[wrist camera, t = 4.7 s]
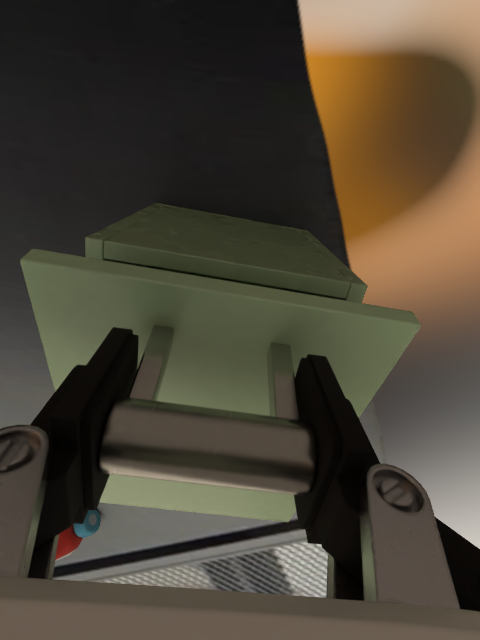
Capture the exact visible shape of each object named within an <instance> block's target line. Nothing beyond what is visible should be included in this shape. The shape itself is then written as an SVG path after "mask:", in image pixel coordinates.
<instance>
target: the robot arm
mask: <svg viewBox="0 0 480 640" xmlns="http://www.w3.org/2000/svg"><path fill="white" fill-rule="evenodd" d="M138 343H139V337H138V335H135V334H133V331H132V329H124V328H117V327H113V328H112V329H111V331H110V332H109V333H108V335H107V336H106V338H105V339H104V341H103V342H102V343H101V345H100V346H99V348H98V349H97V350H96V352H95V353H94V355H93V356H92V358H91V359H90V360H89V362H88V363H87V365H76V366H75V367H74V368H73V369H72V370H71V372H70V373H69V374H68V376H67V377H66V378H65V380H64V381H63V382H62V384H61V385H60V386H59V388H58V389H57V390H56V392H55V393H54V394H53V396H52V397H51V398H50V399H49V401H48V402H47V403H46V405H45V406H44V407H43V409H42V410H41V411H40V413H39V414H38V415H37V417H36V418H35V419H34V421H33V422H32V423H31V425H15V426H9V427H5V428H2V429H0V640H480V549H479V548H477V547H475V546H474V545H473V544H472V543H470V542H469V541H468V540H466V539H465V538H463V537H462V536H461V535H459V534H458V533H456V532H455V531H454V530H452V529H451V528H449V527H448V526H447V525H445V524H444V523H443V522H441V521H440V520H438V519H437V518H436V517H435V516H434V513H433V509H432V505H431V502H430V499H429V497H428V495H427V492H426V491H425V489H424V488H423V487H422V485H421V484H420V483H419V482H418V481H417V480H416V479H415V478H414V477H413V476H411V475H410V474H408V473H407V472H405V471H404V470H402V469H400V468H398V467H395V466H392V465H388V464H380V462H379V460H378V458H377V456H376V454H375V452H374V450H373V448H372V446H371V443H370V441H369V439H368V437H367V435H366V433H365V431H364V429H363V427H362V425H361V423H360V420H359V418H358V416H357V414H356V412H355V410H354V408H353V406H352V404H351V402H350V401H349V400H348V399H346V398H345V396H344V393H343V391H342V389H341V387H340V385H339V383H338V381H337V378H336V376H335V374H334V372H333V370H332V368H331V366H330V363H329V361H328V359H327V357H326V356H320V355H313V354H308V355H307V357H306V358H303V357H302V358H301V360H300V363H299V366H298V369H297V373H296V376H295V384H296V392H297V400H298V407H299V415H300V420H304V421H308V422H310V423H311V424H312V426H313V428H314V431H315V434H316V439H317V448H318V463H317V472H316V478H315V482H314V485H313V488H312V490H311V491H310V493H309V494H308V495H305V496H300V495H294V500H295V506H296V511H297V517H298V522H299V526H300V528H301V529H305V530H306V535H307V540H308V543H314V544H322V548H323V549H324V550H325V551H326V552H328V553H329V554H328V568H327V597H326V598H318V597H305V596H291V595H277V594H263V593H249V592H234V591H220V590H205V589H191V588H176V587H161V586H147V585H131V584H115V583H100V582H84V581H68V580H52V579H53V572H54V565H55V559H56V552H57V545H58V539H59V534H60V533H61V532H63V531H65V530H66V529H68V528H69V527H71V525H72V523H76V524H83V523H84V520H85V518H86V515H87V513H88V511H89V510H94V511H95V510H96V508H97V506H98V504H99V501H100V499H101V496H102V494H103V491H104V488H105V486H106V483H107V481H108V478H109V475H110V474H104V473H101V472H100V471H99V469H98V449H99V442H100V437H101V433H102V429H103V426H104V422H105V419H106V417H107V414H108V412H109V409H110V407H111V405H112V404H113V402H114V401H115V399H116V398H117V397H120V396H124V397H127V396H128V393H129V391H130V388H131V385H132V383H133V380H134V377H135V374H136V372H137V368H138Z"/></svg>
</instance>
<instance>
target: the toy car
mask: <svg viewBox="0 0 480 640" xmlns="http://www.w3.org/2000/svg"><path fill="white" fill-rule="evenodd" d="M99 526H100V515H99V513H98V511H97V510H95V511H94V510H89V511H88V513H87V515H86V518H85V520H84V523H83V524H76V523H72V525H71V527H69V528H68V529H66V530H65V531H63V532H61V533H60V534H59V539H58V545H57V552H56V559H55V560H60V559H63V558H65V557H67V556H69V555H70V554H71V553H73V552H74V551H75V550H76V549H77V547H78V546H79V544H80V543H81V541H82V538H84V537H87V536H90V535H92V534H94V533H95V532H96V531H97V530H98V528H99Z"/></svg>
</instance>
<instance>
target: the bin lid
mask: <svg viewBox="0 0 480 640" xmlns="http://www.w3.org/2000/svg"><path fill="white" fill-rule="evenodd" d="M20 263H21V267H22V270H23V274H24V278H25V281H26V285H27V289H28V293H29V296H30V300H31V304H32V307H33V311H34V315H35V319H36V322H37V326H38V330H39V333H40V337H41V341H42V345H43V348H44V352H45V356H46V359H47V363H48V367H49V371H50V374H51V378H52V382H53V385H54V389H55V392H56V390H57V389H58V388H59V386H60V385H61V384H62V382H63V381H64V380H65V378H66V377H67V376H68V374H69V373H70V372H71V370H72V369H73V368H74V367H75V366H76V365H87V363H88V362H89V360H90V359H91V358H92V356H93V355H94V353H95V352H96V350H97V349H98V348H99V346H100V345H101V343H102V342H103V341H104V339H105V338H106V336H107V335H108V333H109V332H110V331H111V329H112V328H113V327H117V328H124V329H132V331H133V334H135V335H138V337H139V343H138V368H137V372H136V374H135V377H134V380H133V383H132V385H131V388H130V391H129V393H128V396H127V397H124V396H120V397H117V398H116V399H115V401H114V402H113V404H112V405H111V407H110V409H109V412H108V414H107V417H106V419H105V422H104V426H103V429H102V433H101V437H100V442H99V449H98V469H99V471H100V472H101V473H104V474H110V475H109V478H108V481H107V483H106V486H105V488H104V491H103V494H102V496H101V499H100V501H99V502H102V503H111V504H121V505H130V506H140V507H149V508H159V509H168V510H178V511H188V512H197V513H207V514H216V515H226V516H235V517H245V518H254V519H264V520H273V521H283V522H289V520H290V519H291V517H292V516H293V514H294V513H295V512H296V506H295V500H294V495H300V496H305V495H308V494H309V493H310V491H311V490H312V488H313V485H314V482H315V478H316V472H317V463H318V448H317V439H316V434H315V431H314V428H313V426H312V424H311V423H310V422H308V421H304V420H300V415H299V407H298V400H297V392H296V384H295V376H296V373H297V369H298V366H299V363H300V360H301V358H302V357H303V358H306V357H307V355H308V354H313V355H320V356H326V357H327V359H328V361H329V363H330V366H331V368H332V370H333V372H334V374H335V376H336V378H337V381H338V383H339V385H340V387H341V389H342V391H343V393H344V396H345V398H346V399H348V400H349V401H350V402H351V404H352V406H353V408H354V410H355V412H356V414H357V416H358V418H359V417H360V415H361V414H362V413H363V411H364V410H365V408H366V407H367V405H368V404H369V402H370V401H371V399H372V398H373V396H374V394H375V393H376V392H377V390H378V389H379V387H380V386H381V384H382V383H383V381H384V380H385V378H386V377H387V375H388V374H389V373H390V371H391V370H392V368H393V367H394V365H395V364H396V362H397V361H398V359H399V358H400V356H401V355H402V353H403V352H404V350H405V349H406V347H407V346H408V345H409V343H410V342H411V340H412V339H413V337H414V336H415V334H416V333H417V331H418V330H419V328H420V323H419V321H418V320H417V318H416V317H415V315H414V313H412V312H411V311H405V310H398V309H393V308H386V307H381V306H375V305H369V304H362V303H357V302H351V301H345V300H339V299H333V298H327V297H321V296H315V295H309V294H303V293H297V292H291V291H285V290H279V289H273V288H267V287H261V286H255V285H249V284H243V283H237V282H231V281H225V280H219V279H213V278H207V277H201V276H195V275H189V274H183V273H177V272H171V271H165V270H159V269H153V268H147V267H141V266H135V265H129V264H123V263H117V262H111V261H105V260H99V259H93V258H87V257H81V256H75V255H69V254H63V253H57V252H51V251H45V250H39V249H32V250H31V251H30V252H28V253H27V254H26V255H25V256H24V257H23V258H21V260H20Z"/></svg>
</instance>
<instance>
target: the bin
mask: <svg viewBox="0 0 480 640" xmlns="http://www.w3.org/2000/svg"><path fill="white" fill-rule="evenodd" d="M85 257H87V258H93V259H99V260H105V261H111V262H117V263H123V264H129V265H135V266H141V267H147V268H153V269H159V270H165V271H171V272H177V273H183V274H189V275H195V276H201V277H207V278H213V279H219V280H225V281H231V282H237V283H243V284H249V285H255V286H261V287H267V288H273V289H279V290H285V291H291V292H297V293H303V294H309V295H315V296H321V297H327V298H333V299H339V300H345V301H351V302H357V303H362V300H363V297H364V295H365V292H366V289H367V285H366V284H365V283H364V282H363V281H362V280H361V279H360V278H358V277H357V276H356V275H355V274H354V273H353V272H352V271H351V270H350V269H349V268H348V267H347V266H345V265H344V264H343V263H342V262H341V261H340V260H339V259H338V258H337V257H336V256H335V255H334V254H332V253H331V252H330V251H329V250H328V249H327V248H326V247H325V246H324V245H323V244H322V243H321V242H320V241H318V240H317V239H316V238H315V237H314V236H313V235H312V234H311V233H310V232H309V231H307V230H302V229H296V228H291V227H285V226H280V225H275V224H269V223H264V222H258V221H253V220H247V219H242V218H236V217H231V216H226V215H220V214H215V213H209V212H204V211H198V210H193V209H188V208H182V207H177V206H171V205H166V204H160V203H155V204H153V205H151V206H149V207H147V208H145V209H143V210H141V211H139V212H137V213H135V214H133V215H130V216H128V217H126V218H124V219H122V220H120V221H118V222H116V223H114V224H112V225H110V226H108V227H106V228H104V229H102V230H100V231H98V232H96V233H94V234H92V235H89V236H87V237H86V238H85Z"/></svg>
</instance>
